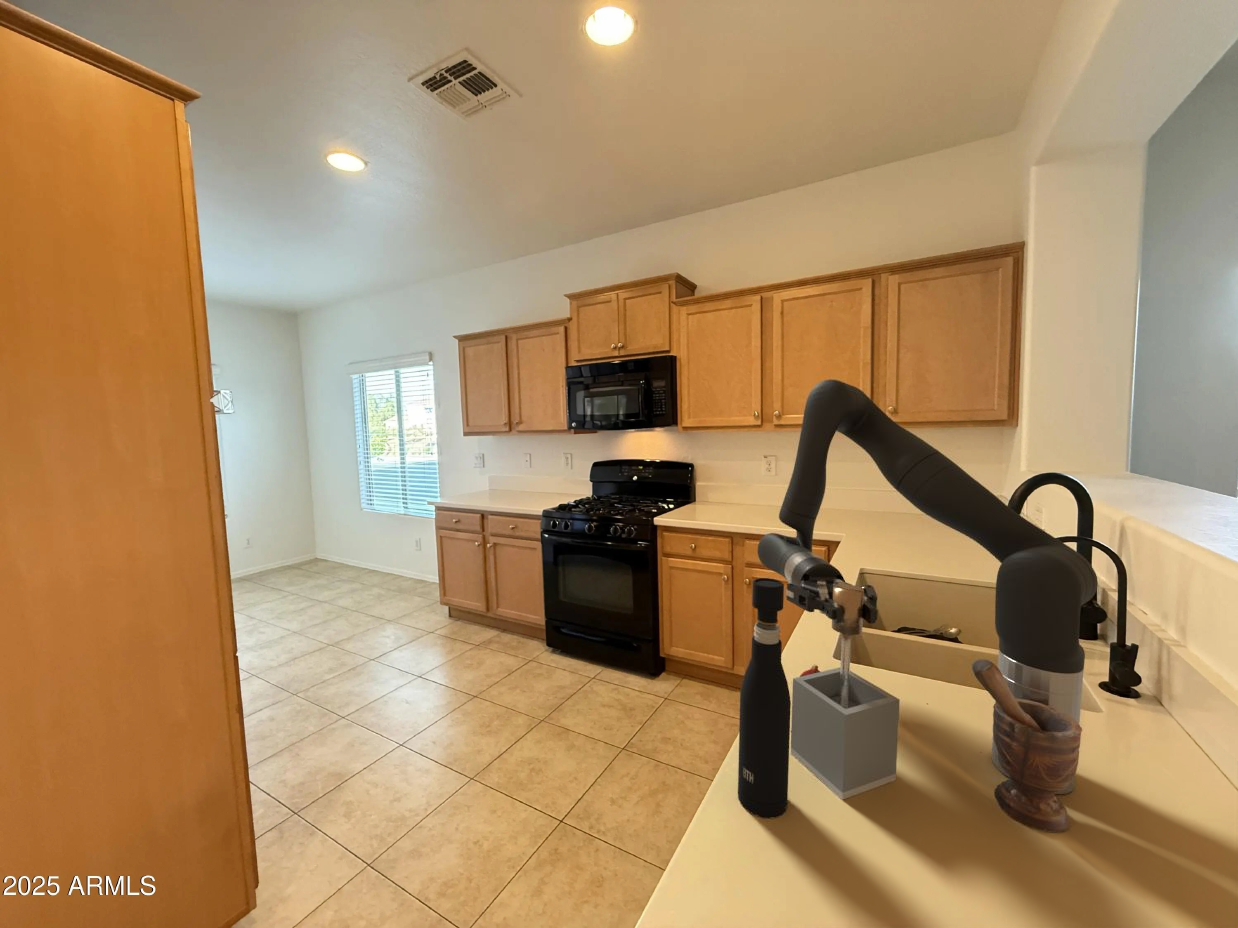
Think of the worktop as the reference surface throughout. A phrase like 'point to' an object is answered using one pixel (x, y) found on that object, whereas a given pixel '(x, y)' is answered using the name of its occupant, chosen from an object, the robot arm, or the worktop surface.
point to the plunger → (847, 633)
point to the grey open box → (845, 732)
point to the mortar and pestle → (1031, 753)
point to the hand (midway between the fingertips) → (856, 616)
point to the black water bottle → (765, 711)
